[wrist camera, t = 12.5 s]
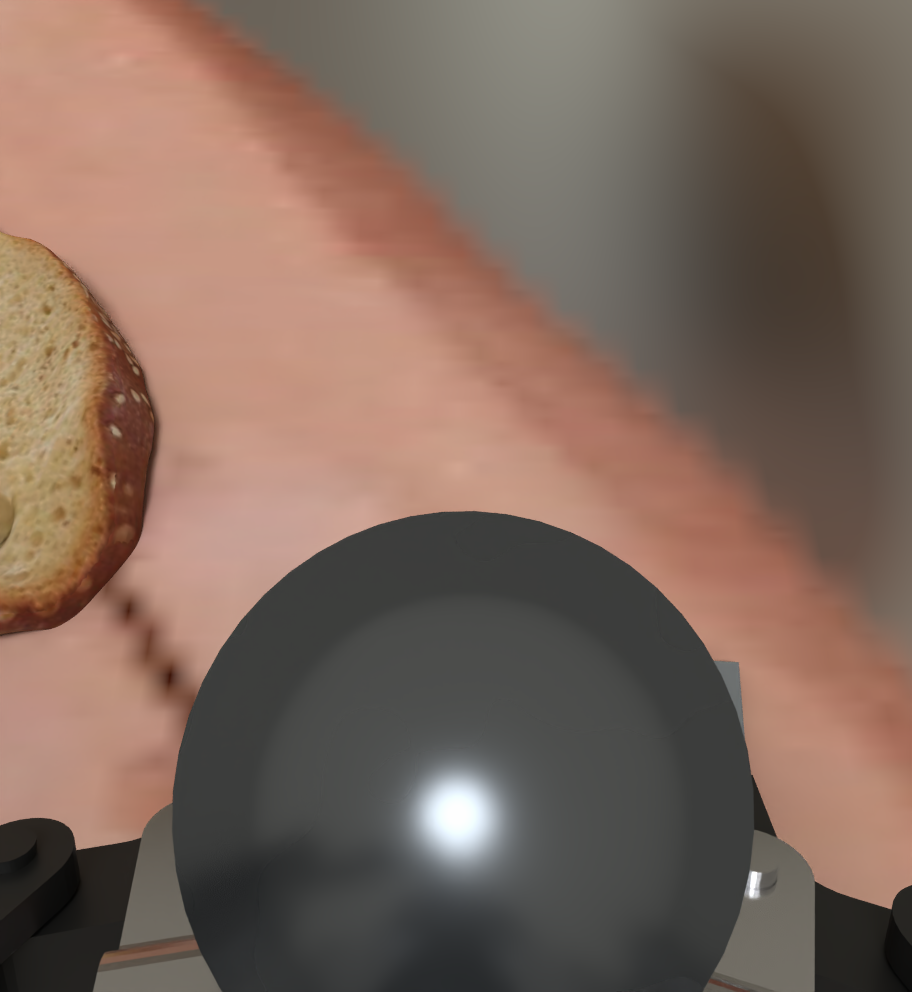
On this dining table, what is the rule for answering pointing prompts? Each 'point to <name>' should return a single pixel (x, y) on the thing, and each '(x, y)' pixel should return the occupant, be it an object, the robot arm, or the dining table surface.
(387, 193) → the dining table surface
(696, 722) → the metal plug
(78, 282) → the slice of bread
